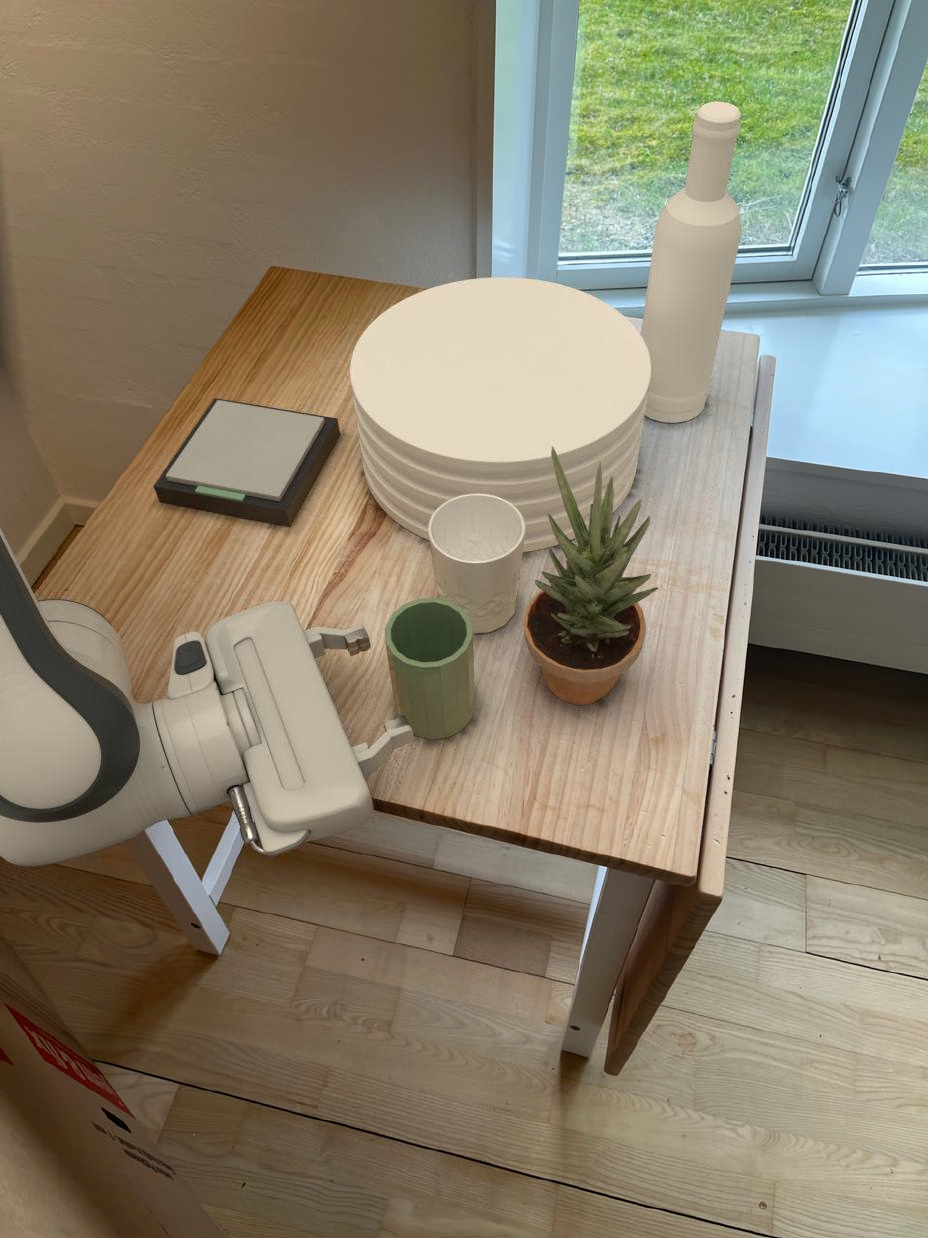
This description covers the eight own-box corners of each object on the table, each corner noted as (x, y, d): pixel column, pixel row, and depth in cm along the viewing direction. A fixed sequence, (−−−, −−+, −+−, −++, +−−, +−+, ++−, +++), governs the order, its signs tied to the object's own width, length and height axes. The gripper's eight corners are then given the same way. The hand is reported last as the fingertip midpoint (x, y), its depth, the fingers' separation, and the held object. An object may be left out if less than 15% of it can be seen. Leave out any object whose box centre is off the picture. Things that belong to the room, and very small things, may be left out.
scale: (289, 527, 92) (284, 505, 89) (159, 502, 94) (151, 480, 92) (340, 434, 100) (336, 412, 98) (219, 413, 103) (213, 392, 100)
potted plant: (503, 653, 81) (505, 429, 62) (600, 616, 84) (631, 389, 64) (557, 744, 76) (578, 528, 56) (660, 702, 78) (714, 480, 59)
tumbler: (415, 751, 76) (406, 679, 68) (383, 691, 79) (371, 616, 71) (488, 720, 77) (487, 646, 69) (453, 662, 81) (449, 586, 73)
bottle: (645, 430, 99) (691, 136, 76) (621, 384, 104) (657, 95, 80) (717, 417, 100) (785, 123, 77) (690, 372, 105) (745, 84, 81)
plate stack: (559, 344, 109) (565, 251, 100) (689, 500, 92) (710, 406, 83) (327, 411, 102) (311, 318, 93) (423, 591, 86) (415, 500, 77)
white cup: (420, 624, 84) (412, 547, 76) (454, 562, 88) (450, 483, 80) (504, 650, 82) (504, 573, 74) (534, 585, 86) (538, 506, 78)
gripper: (240, 844, 62) (437, 767, 65) (171, 620, 73) (340, 564, 77) (259, 884, 66) (441, 810, 70) (192, 667, 78) (350, 613, 81)
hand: (388, 680), depth 73 cm, fingers open, 8 cm apart
